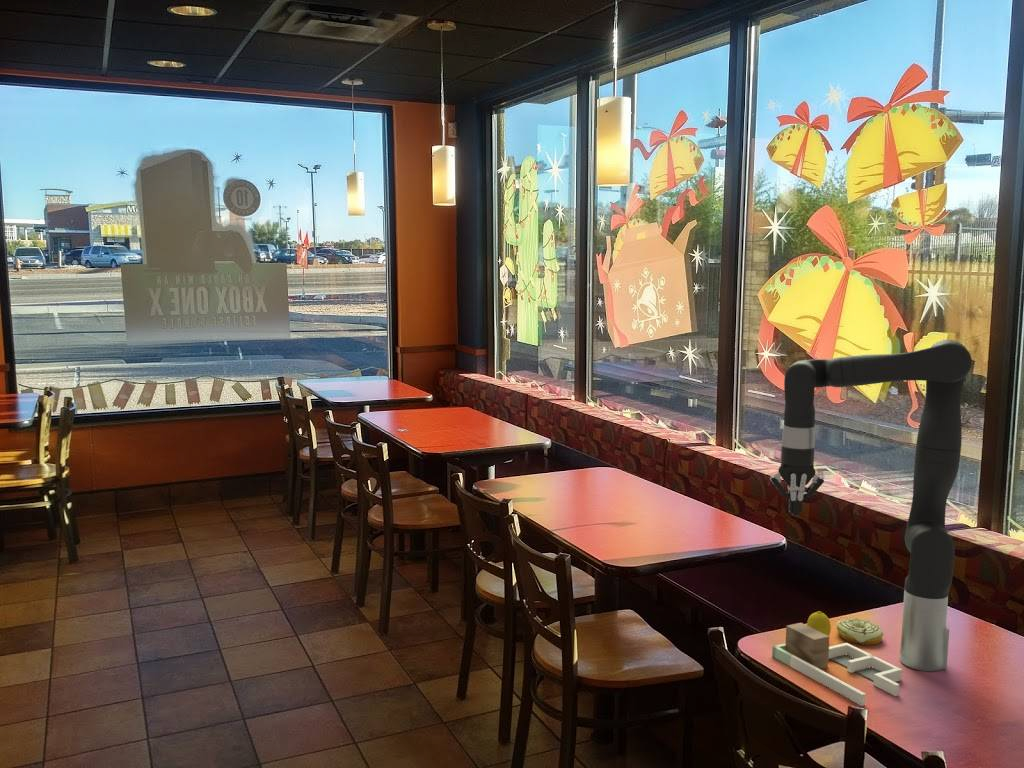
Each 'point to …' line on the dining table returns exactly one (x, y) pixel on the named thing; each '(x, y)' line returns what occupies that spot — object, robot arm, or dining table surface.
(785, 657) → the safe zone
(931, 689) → the dining table surface
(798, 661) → the box
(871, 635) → the decorated donut
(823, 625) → the lemon
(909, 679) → the dining table surface
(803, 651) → the block
